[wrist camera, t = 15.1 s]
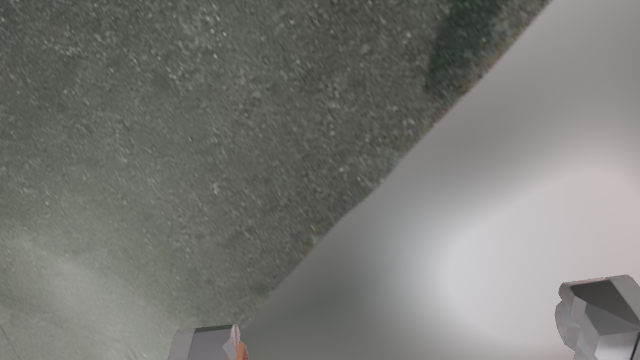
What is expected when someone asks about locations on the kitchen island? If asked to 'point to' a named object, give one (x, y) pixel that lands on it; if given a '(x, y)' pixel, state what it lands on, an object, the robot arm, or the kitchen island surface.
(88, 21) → the kitchen island surface
